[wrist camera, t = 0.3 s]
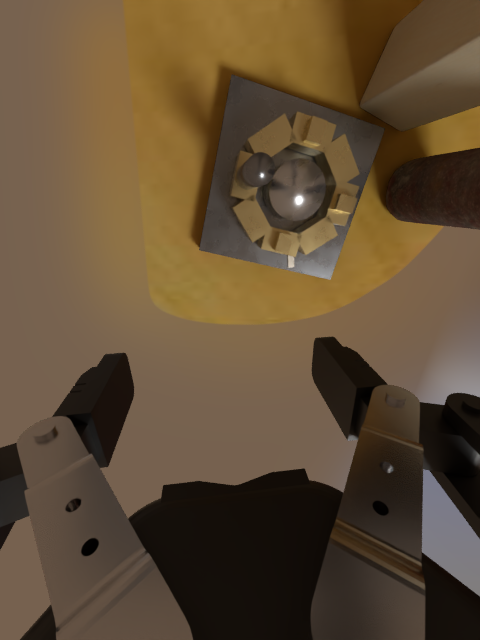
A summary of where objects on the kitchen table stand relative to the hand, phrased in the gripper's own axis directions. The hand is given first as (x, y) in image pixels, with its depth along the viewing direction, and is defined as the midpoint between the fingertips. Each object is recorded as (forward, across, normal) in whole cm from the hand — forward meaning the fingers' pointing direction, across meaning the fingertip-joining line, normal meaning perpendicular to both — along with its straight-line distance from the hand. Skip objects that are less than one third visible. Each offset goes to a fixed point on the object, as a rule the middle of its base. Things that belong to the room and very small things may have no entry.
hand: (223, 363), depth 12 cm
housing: (+28, -9, -7) cm, 30 cm away
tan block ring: (+25, -9, -7) cm, 28 cm away
